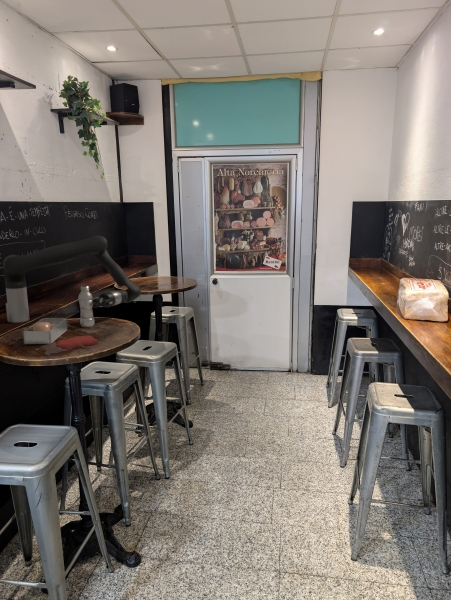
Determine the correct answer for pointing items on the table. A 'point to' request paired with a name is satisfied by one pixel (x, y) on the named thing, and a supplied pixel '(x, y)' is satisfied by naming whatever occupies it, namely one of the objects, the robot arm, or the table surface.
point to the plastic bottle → (86, 307)
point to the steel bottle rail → (46, 337)
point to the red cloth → (76, 342)
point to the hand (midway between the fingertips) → (86, 304)
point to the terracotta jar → (41, 326)
